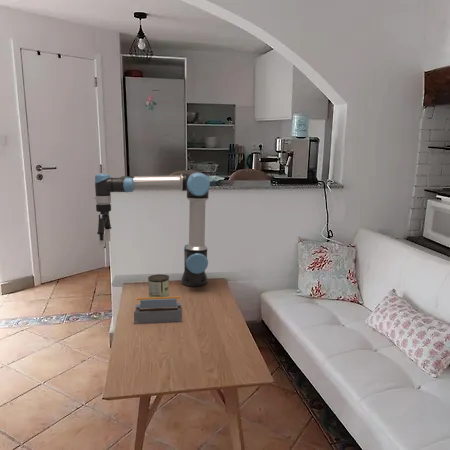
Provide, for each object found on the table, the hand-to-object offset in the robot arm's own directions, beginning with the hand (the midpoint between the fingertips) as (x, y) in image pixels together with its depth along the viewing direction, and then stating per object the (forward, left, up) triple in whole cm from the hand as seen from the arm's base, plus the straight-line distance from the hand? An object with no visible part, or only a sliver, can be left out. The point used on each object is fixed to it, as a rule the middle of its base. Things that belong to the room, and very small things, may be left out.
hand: (105, 243), depth 227 cm
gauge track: (-28, +35, -27) cm, 52 cm away
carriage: (-28, +28, -26) cm, 47 cm away
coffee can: (-28, +20, -28) cm, 44 cm away
